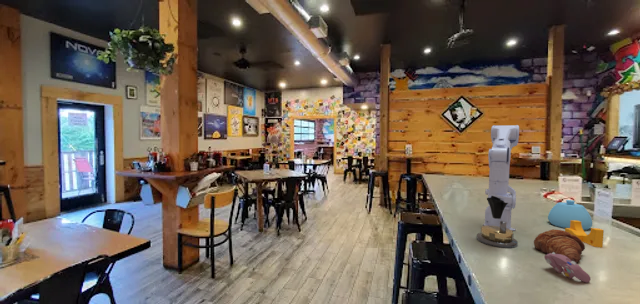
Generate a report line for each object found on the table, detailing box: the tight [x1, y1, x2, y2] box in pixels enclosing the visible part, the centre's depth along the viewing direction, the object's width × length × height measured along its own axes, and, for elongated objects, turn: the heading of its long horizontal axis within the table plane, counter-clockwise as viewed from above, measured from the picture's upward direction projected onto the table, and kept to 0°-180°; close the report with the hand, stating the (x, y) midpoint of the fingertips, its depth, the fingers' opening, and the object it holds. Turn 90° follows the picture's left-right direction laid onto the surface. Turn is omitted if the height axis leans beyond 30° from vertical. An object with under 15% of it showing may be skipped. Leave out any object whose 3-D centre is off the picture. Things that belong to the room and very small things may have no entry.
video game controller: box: [544, 252, 591, 283], centre depth 81 cm, size 10×5×7 cm, turn 5°
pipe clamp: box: [564, 220, 605, 248], centre depth 109 cm, size 12×4×6 cm, turn 174°
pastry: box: [533, 228, 586, 264], centre depth 98 cm, size 17×15×8 cm
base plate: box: [476, 232, 519, 249], centre depth 108 cm, size 13×13×1 cm
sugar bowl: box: [547, 199, 593, 231], centre depth 128 cm, size 15×15×12 cm
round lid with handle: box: [480, 221, 515, 242], centre depth 107 cm, size 10×10×7 cm
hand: (496, 218), depth 104 cm, fingers closed
